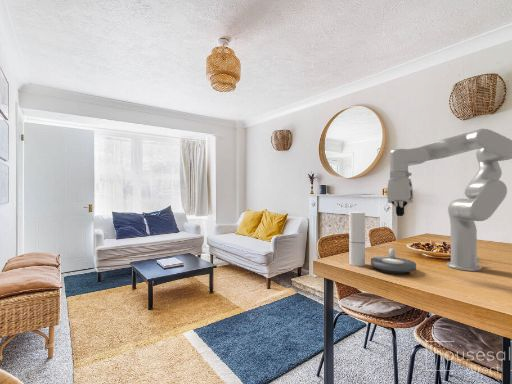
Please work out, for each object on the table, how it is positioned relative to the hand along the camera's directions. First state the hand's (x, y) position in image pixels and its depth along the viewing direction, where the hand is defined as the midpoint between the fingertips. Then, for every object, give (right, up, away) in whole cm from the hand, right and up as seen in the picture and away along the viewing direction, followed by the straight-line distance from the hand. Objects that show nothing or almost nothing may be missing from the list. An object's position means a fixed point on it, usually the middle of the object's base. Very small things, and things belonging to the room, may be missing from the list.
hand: (400, 215), depth 124 cm
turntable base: (-5, -24, -4) cm, 25 cm away
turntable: (-5, -22, -4) cm, 23 cm away
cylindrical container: (-18, -24, +6) cm, 30 cm away
